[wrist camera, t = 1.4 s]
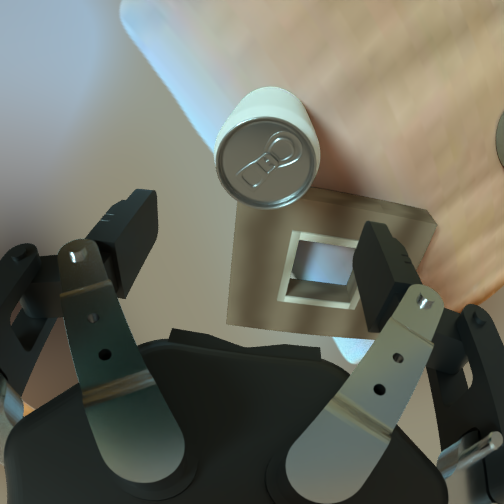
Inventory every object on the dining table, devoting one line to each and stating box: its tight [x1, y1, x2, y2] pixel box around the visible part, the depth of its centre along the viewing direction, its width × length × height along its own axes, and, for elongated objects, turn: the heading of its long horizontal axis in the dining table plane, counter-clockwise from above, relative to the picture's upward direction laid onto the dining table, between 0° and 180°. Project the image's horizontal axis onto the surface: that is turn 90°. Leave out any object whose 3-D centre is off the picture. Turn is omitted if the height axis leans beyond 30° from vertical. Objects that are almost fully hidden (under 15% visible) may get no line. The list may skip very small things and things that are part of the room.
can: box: [214, 87, 320, 210], centre depth 22 cm, size 6×6×12 cm
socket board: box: [226, 187, 437, 340], centre depth 34 cm, size 20×18×3 cm
